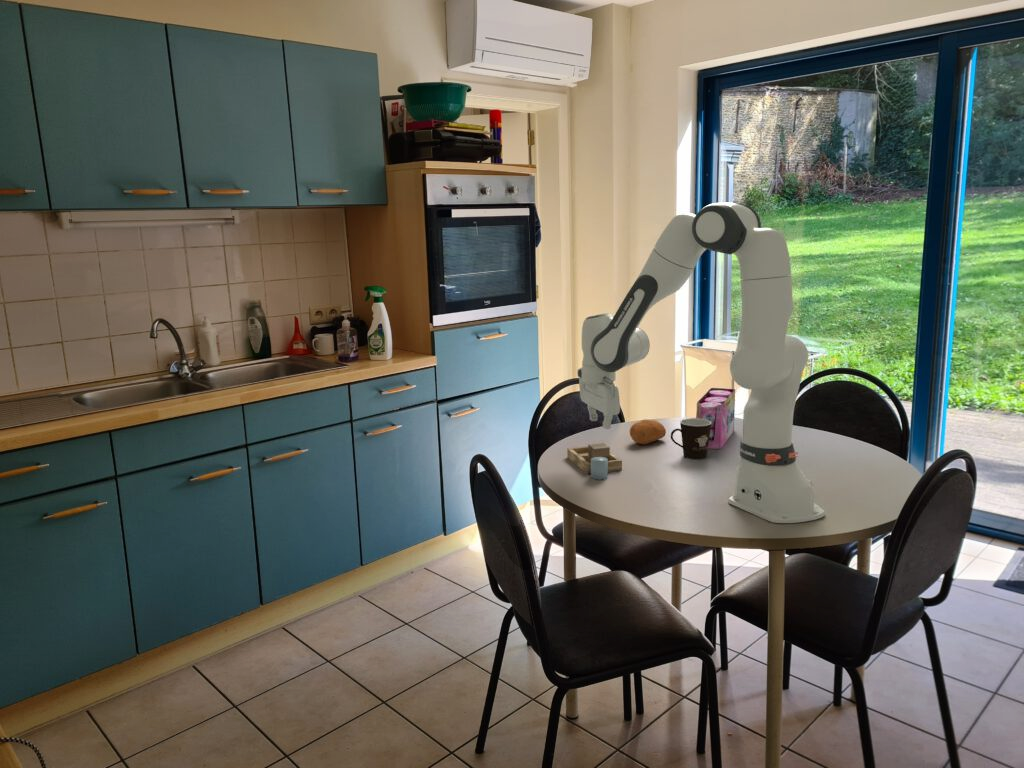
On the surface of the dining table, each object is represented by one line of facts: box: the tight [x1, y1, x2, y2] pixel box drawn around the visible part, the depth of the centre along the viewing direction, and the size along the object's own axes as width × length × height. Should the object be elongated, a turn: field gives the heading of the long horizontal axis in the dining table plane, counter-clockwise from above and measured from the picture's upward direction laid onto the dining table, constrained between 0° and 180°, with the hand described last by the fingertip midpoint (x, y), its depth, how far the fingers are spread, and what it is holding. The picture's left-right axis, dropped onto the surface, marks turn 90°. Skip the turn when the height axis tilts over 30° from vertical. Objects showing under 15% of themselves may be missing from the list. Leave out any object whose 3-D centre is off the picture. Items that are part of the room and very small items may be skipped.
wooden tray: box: [566, 445, 623, 475], centre depth 215 cm, size 16×10×3 cm, turn 15°
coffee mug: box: [670, 417, 711, 460], centre depth 219 cm, size 12×9×10 cm
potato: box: [629, 419, 667, 446], centre depth 234 cm, size 7×13×7 cm, turn 123°
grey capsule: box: [590, 457, 609, 481], centre depth 203 cm, size 4×4×5 cm
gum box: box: [695, 387, 736, 450], centre depth 235 cm, size 24×8×14 cm, turn 155°
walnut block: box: [587, 442, 611, 463], centre depth 211 cm, size 4×4×5 cm
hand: (600, 424), depth 209 cm, fingers open, 8 cm apart
